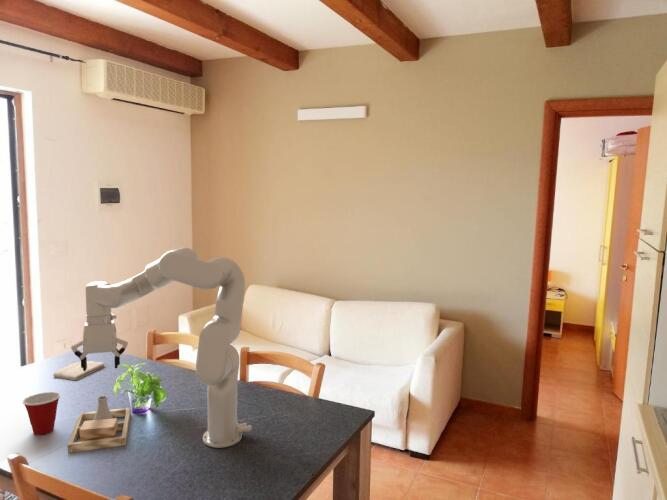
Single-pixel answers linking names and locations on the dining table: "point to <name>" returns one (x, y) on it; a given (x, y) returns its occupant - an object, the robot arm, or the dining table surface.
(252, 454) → the dining table surface
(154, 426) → the dining table surface
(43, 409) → the plastic cup
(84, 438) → the offcut lower
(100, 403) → the flask
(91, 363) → the washcloth
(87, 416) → the wooden tray
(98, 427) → the offcut upper
